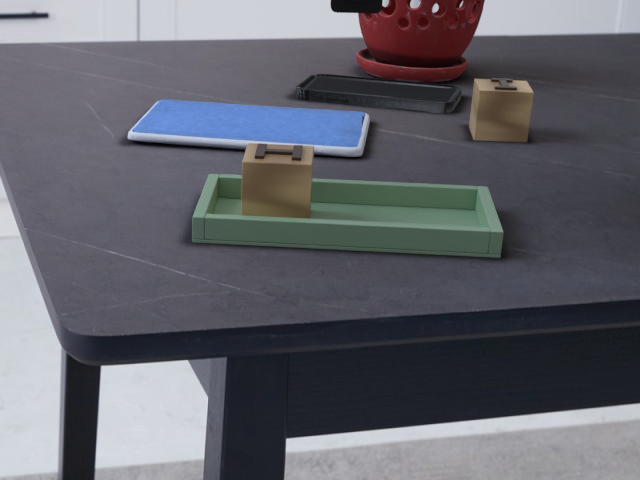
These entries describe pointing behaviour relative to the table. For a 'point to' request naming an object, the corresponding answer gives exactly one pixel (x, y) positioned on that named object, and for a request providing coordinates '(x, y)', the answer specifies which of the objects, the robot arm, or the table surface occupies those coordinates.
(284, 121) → the tablet
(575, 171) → the table surface
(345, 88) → the dark grey shallow tray
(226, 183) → the tray
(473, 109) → the wooden letter block
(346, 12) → the robot arm
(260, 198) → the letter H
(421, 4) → the flower pot
